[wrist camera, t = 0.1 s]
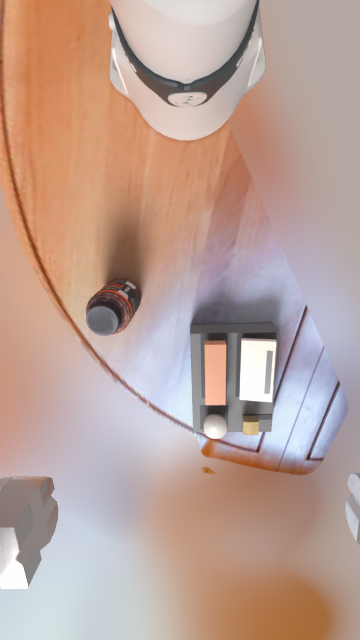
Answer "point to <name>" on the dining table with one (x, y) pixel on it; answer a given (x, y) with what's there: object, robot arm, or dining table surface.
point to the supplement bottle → (113, 307)
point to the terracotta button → (215, 372)
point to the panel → (228, 374)
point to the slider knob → (250, 425)
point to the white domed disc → (215, 426)
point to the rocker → (257, 369)
